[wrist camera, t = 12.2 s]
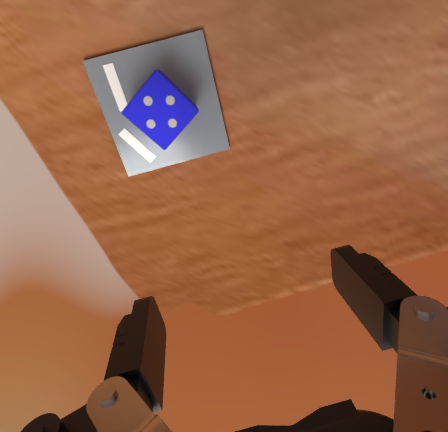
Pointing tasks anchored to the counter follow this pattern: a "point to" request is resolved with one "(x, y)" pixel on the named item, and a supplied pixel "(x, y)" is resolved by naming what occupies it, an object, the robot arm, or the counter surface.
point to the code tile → (182, 78)
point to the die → (160, 110)
